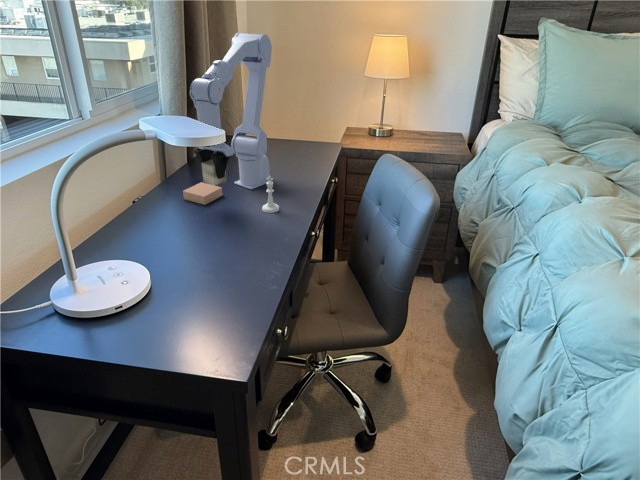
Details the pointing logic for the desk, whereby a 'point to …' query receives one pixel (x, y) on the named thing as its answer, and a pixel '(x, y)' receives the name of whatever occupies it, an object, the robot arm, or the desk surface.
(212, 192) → the block
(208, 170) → the metal block
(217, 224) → the desk surface
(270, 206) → the chess piece
